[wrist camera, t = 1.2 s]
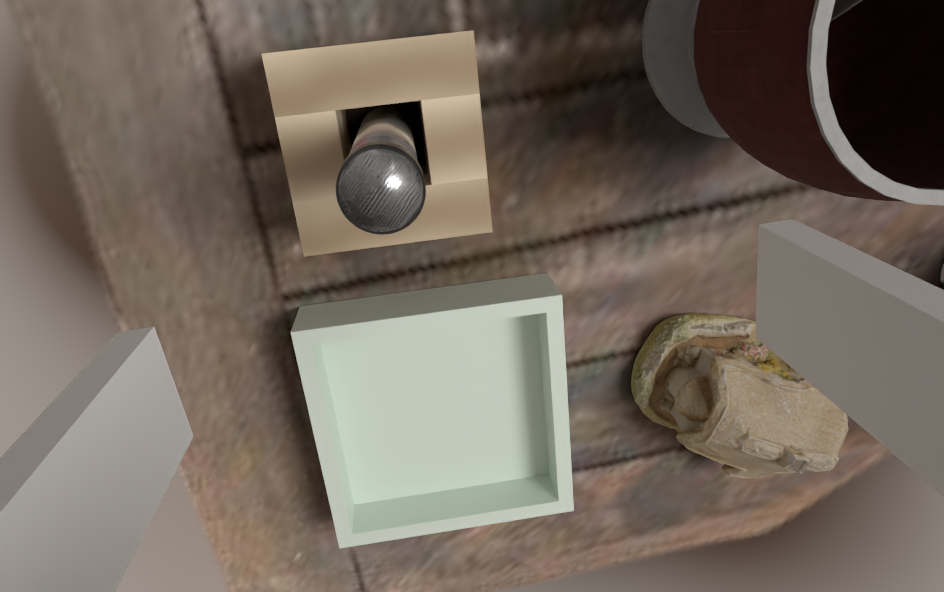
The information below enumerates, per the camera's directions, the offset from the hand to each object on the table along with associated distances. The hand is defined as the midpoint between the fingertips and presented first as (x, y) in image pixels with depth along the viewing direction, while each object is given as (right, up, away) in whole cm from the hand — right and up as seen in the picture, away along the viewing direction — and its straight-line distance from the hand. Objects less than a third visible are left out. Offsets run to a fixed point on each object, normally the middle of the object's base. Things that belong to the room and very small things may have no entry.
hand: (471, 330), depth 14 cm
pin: (-5, +10, +24) cm, 27 cm away
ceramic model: (+18, -6, +33) cm, 38 cm away
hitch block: (-5, +10, +24) cm, 27 cm away
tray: (-2, -6, +31) cm, 31 cm away
